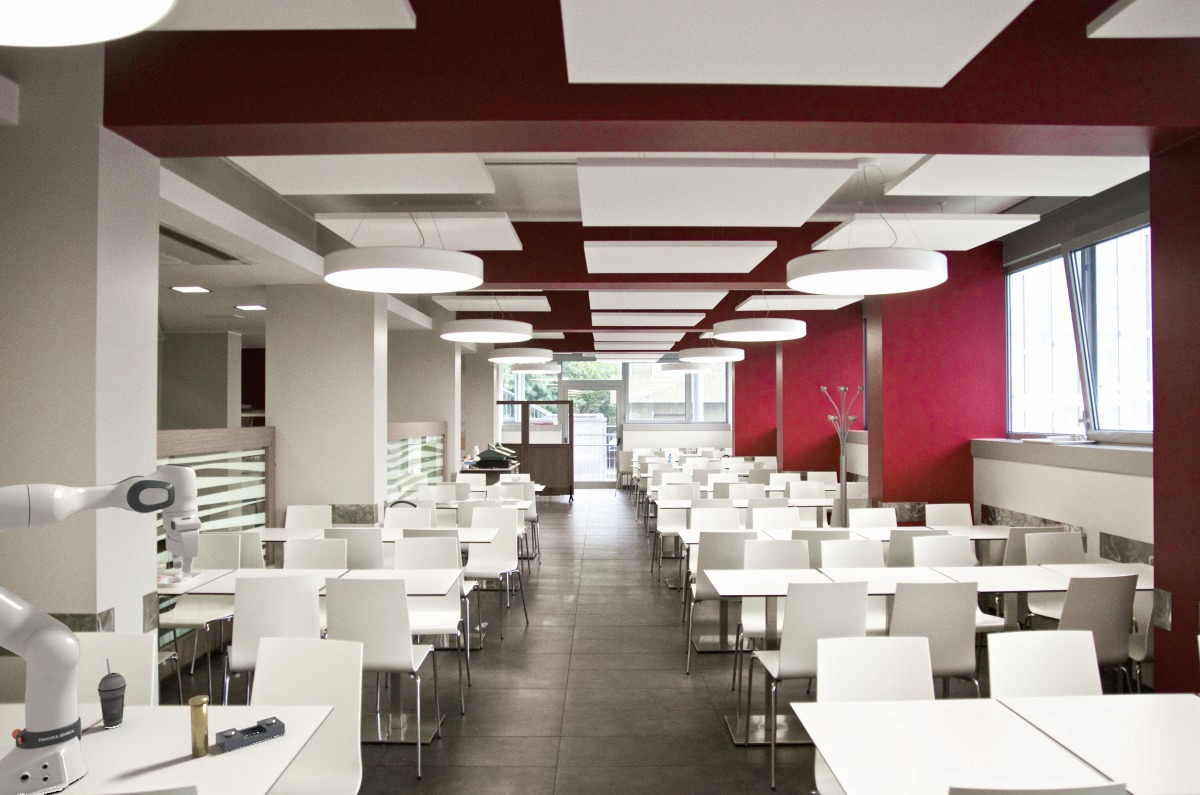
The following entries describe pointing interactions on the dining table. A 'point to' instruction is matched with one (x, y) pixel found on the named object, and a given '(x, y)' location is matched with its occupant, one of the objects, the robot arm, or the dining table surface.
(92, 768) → the dining table surface
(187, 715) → the dining table surface
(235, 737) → the slotted clamp bar
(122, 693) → the beverage cup
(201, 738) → the pin
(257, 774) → the dining table surface
